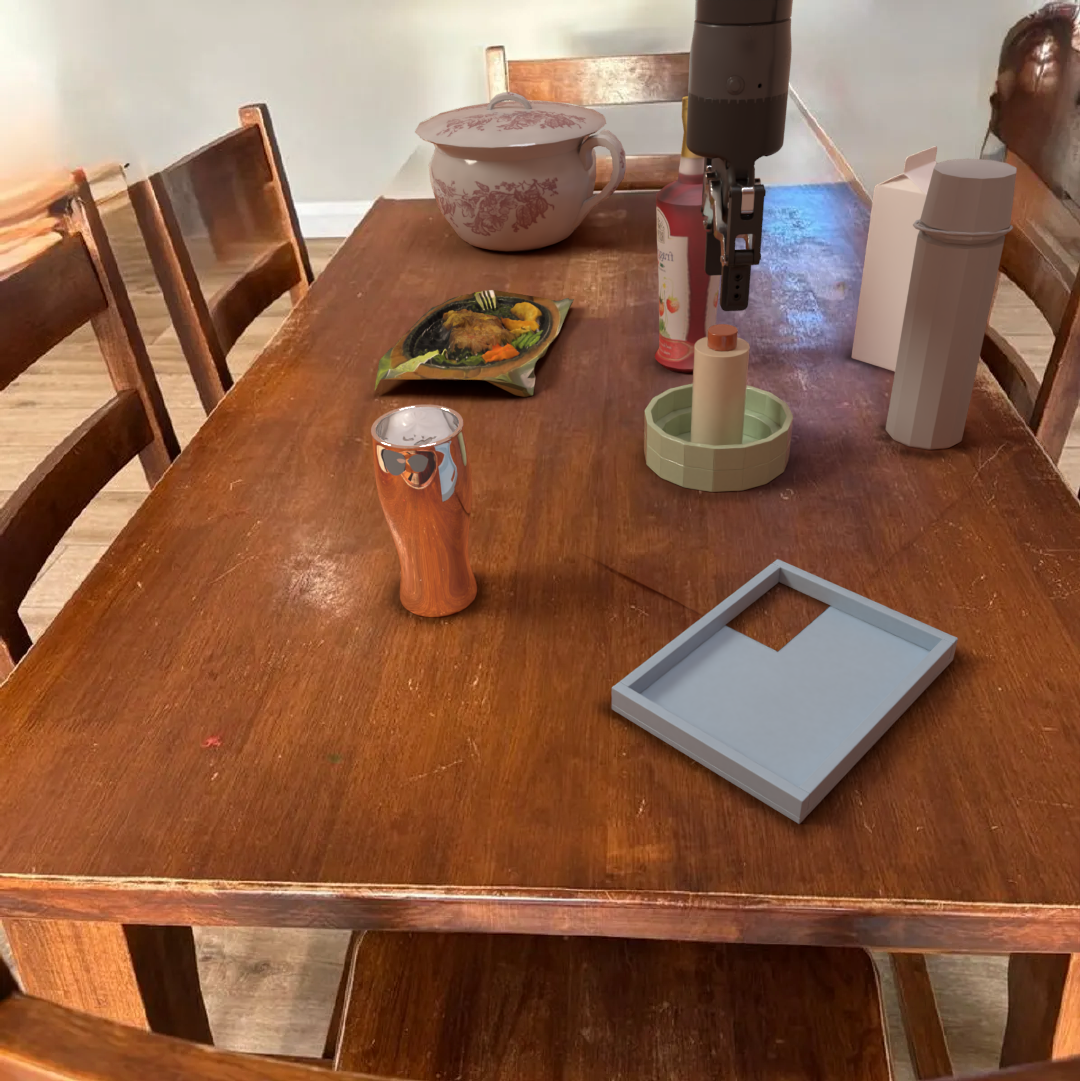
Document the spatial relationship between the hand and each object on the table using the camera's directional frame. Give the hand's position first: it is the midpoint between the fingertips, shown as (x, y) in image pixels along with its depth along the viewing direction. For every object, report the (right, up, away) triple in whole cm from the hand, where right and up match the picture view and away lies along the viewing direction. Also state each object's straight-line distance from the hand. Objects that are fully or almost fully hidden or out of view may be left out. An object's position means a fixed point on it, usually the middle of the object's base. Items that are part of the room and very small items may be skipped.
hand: (724, 290), depth 86 cm
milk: (+23, -1, +27) cm, 35 cm away
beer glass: (-24, -26, -6) cm, 35 cm away
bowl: (+1, -14, +9) cm, 17 cm away
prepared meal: (-23, +1, +34) cm, 41 cm away
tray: (+1, -31, -16) cm, 35 cm away
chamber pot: (-19, +24, +68) cm, 74 cm away
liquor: (+1, -2, +27) cm, 27 cm away
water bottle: (+21, -11, +12) cm, 27 cm away
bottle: (+1, -13, +9) cm, 16 cm away
